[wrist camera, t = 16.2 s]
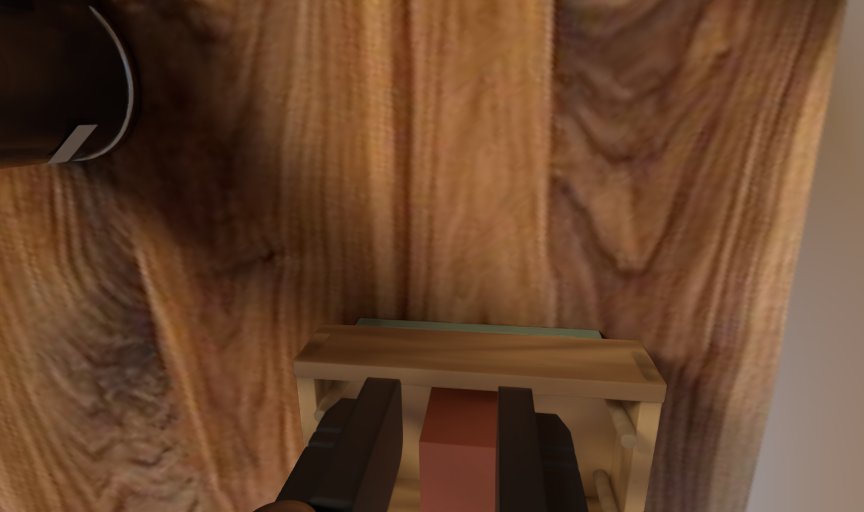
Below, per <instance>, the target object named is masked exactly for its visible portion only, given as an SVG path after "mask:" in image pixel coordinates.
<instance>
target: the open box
mask: <svg viewBox="0 0 864 512" xmlns="http://www.w3.org/2000/svg"><path fill="white" fill-rule="evenodd" d="M293 368H294V376H295V377H296V379H297V388H298V397H299V406H300V415H301V423H302V432H303V441H304V449H305V447H306V446H308V442H309V440H310V438H311V436H312V435H313V433H314V432H316V428H317V426H318V424H319V422H320V420H321V419H322V417H323V415H324V413H325V412H326V411H327V410H328V409H329V408H330V407H332V406H333V405H334V404H335V403H337V402H338V401H339V400H340V399H342V398H352V399H357V397H358V395H359V393H360V390H361V388H362V386H363V384H364V382H365V380H366V379H367V377H376V378H390V379H400V381H401V388H402V417H403V449H402V457H401V462H400V467H399V470H398V474H397V478H396V482H395V485H394V489H393V493H392V496H391V500H390V504H389V507H388V511H387V512H421V503H420V467H419V439H420V435H421V431H422V426H423V422H424V418H425V413H426V409H427V405H428V401H429V396H430V392H431V388H432V387H441V388H456V389H470V390H485V391H498V386H506V387H521V388H531V389H532V393H533V401H534V409H535V412H538V413H551V414H557V415H558V416H559V417H560V419H561V420H562V421H563V422H564V424H565V425H566V426H567V427H568V429H569V430H570V431H571V436H572V440H573V445H574V449H575V454H576V458H577V462H578V469H579V471H580V475H581V480H582V484H583V489H584V493H585V497H586V502H587V506H588V511H589V512H644V508H645V502H646V496H647V490H648V484H649V478H650V472H651V466H652V460H653V454H654V448H655V442H656V436H657V431H658V425H659V419H660V413H661V407H662V403H664V401H665V395H666V389H667V384H666V383H665V381H664V380H663V378H662V376H661V375H660V373H659V371H658V370H657V368H656V366H655V365H654V363H653V362H652V360H651V358H650V357H649V355H648V353H647V352H646V350H645V348H644V347H643V345H642V343H641V342H640V341H635V340H616V339H597V338H578V337H559V336H541V335H522V334H503V333H484V332H465V331H446V330H428V329H409V328H390V327H371V326H352V325H333V324H322V325H321V327H320V328H319V329H318V330H317V332H316V333H315V334H314V335H313V336H312V338H311V339H310V340H309V341H308V343H307V344H306V345H305V346H304V348H303V349H302V350H301V351H300V353H299V354H298V355H297V356H296V358H295V359H294V360H293Z"/></svg>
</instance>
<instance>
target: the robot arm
mask: <svg viewBox="0 0 864 512" xmlns="http://www.w3.org/2000/svg"><path fill="white" fill-rule="evenodd" d="M139 105H140V84H139V77H138V73H137V68H136V65H135V62H134V58H133V56H132V53H131V51H130V49H129V47H128V45H127V43H126V41H125V39H124V37H123V36H122V34H121V32H120V31H119V30H118V28H117V27H116V25H115V24H114V23H113V22H112V20H111V19H110V18H109V17H108V16H107V15H106V14H105V13H104V12H103V11H102V10H101V8H100V6H99V3H98V0H0V169H6V168H14V167H22V166H30V165H36V164H44V163H48V164H51V163H59V162H67V161H82V160H90V159H96V158H100V157H103V156H106V155H108V154H110V153H112V152H113V151H115V150H116V149H117V148H119V147H120V146H121V145H122V144H123V143H124V142H125V140H126V139H127V138H128V137H129V135H130V133H131V132H132V130H133V127H134V125H135V123H136V120H137V116H138V112H139ZM402 449H403V417H402V388H401V381H400V379H390V378H376V377H367V379H366V380H365V382H364V384H363V386H362V388H361V390H360V393H359V395H358V397H357V399H352V398H342V399H340V400H339V401H338V402H337V403H335V404H334V405H333V406H332V407H330V408H329V409H328V410H327V411H326V412H325V413H324V415H323V417H322V419H321V420H320V422H319V424H318V426H317V428H316V432H314V433H313V435H312V436H311V438H310V440H309V442H308V446H306V447H305V449H304V451H303V452H302V454H301V456H300V458H299V460H298V461H297V463H296V465H295V467H294V468H293V470H292V472H291V474H290V476H289V477H288V479H287V481H286V483H285V484H284V486H283V488H282V490H281V492H280V493H279V495H278V497H277V499H276V500H275V502H273V503H269V504H267V505H264V506H262V507H260V508H258V509H256V510H255V511H253V512H387V511H388V507H389V504H390V500H391V496H392V493H393V489H394V485H395V482H396V478H397V474H398V470H399V467H400V462H401V457H402ZM495 512H589V511H588V506H587V502H586V497H585V493H584V489H583V484H582V480H581V475H580V471H579V469H578V462H577V458H576V454H575V449H574V445H573V440H572V436H571V431H570V430H569V429H568V427H567V426H566V425H565V424H564V422H563V421H562V420H561V419H560V417H559V416H558V415H557V414H551V413H538V412H535V409H534V401H533V393H532V389H531V388H521V387H506V386H498V406H497V431H496V461H495Z"/></svg>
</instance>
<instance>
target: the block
mask: <svg viewBox="0 0 864 512" xmlns="http://www.w3.org/2000/svg"><path fill="white" fill-rule="evenodd" d="M497 406H498V391H485V390H470V389H456V388H441V387H432V388H431V392H430V396H429V401H428V405H427V409H426V413H425V418H424V422H423V426H422V431H421V435H420V439H419V467H420V503H421V512H495V461H496V431H497Z"/></svg>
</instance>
